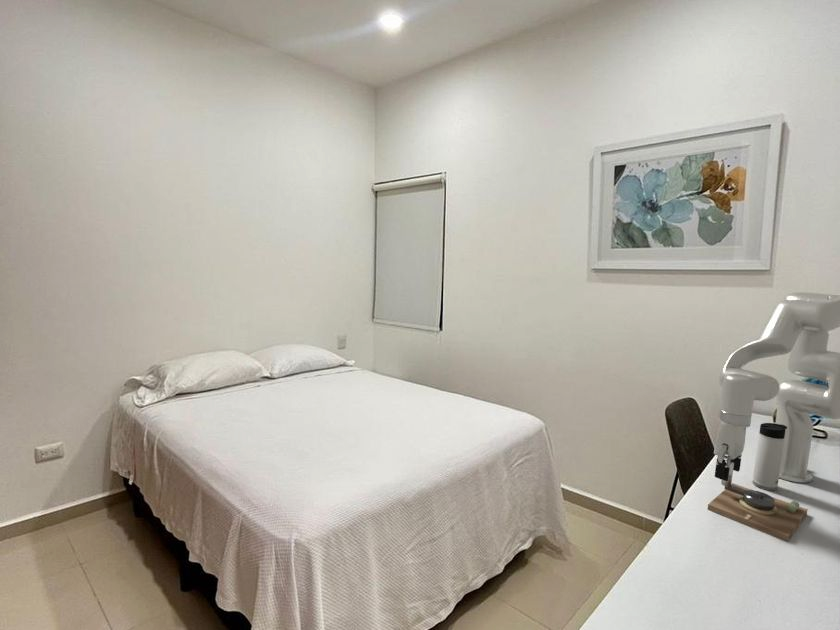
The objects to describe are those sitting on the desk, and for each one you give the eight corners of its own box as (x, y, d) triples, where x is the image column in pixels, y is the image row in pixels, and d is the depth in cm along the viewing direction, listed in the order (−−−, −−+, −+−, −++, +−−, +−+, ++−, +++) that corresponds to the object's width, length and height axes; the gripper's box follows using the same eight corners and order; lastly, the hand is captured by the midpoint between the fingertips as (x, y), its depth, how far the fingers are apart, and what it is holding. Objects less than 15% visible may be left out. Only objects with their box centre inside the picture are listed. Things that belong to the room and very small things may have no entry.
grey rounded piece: (724, 485, 136) (728, 457, 135) (777, 504, 126) (781, 474, 125) (716, 493, 131) (719, 463, 130) (769, 513, 122) (774, 481, 120)
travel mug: (782, 492, 138) (792, 429, 135) (758, 489, 139) (767, 427, 137) (771, 482, 144) (780, 422, 141) (748, 479, 145) (756, 419, 143)
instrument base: (731, 487, 140) (733, 477, 140) (806, 514, 126) (808, 503, 126) (707, 509, 128) (708, 498, 127) (787, 541, 114) (789, 529, 113)
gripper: (730, 408, 138) (722, 461, 140) (708, 419, 127) (701, 477, 129) (759, 415, 132) (751, 471, 134) (740, 428, 121) (731, 488, 124)
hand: (727, 474), depth 132 cm, fingers open, 9 cm apart
